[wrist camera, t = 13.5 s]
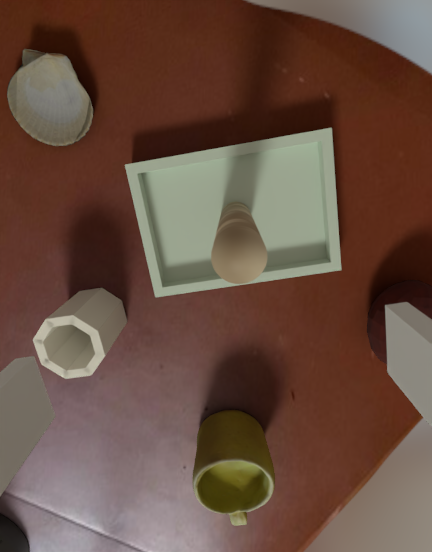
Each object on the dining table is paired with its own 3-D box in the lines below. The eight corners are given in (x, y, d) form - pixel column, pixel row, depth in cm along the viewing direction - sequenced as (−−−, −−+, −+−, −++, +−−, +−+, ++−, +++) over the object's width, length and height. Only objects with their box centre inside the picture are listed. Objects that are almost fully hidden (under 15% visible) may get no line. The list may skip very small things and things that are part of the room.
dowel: (223, 234, 38) (216, 287, 21) (218, 204, 37) (206, 233, 20) (252, 229, 38) (270, 279, 20) (248, 199, 37) (263, 224, 19)
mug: (183, 404, 43) (202, 483, 35) (260, 392, 46) (295, 463, 38) (178, 465, 49) (193, 546, 41) (247, 452, 52) (274, 525, 43)
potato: (437, 278, 39) (474, 298, 34) (405, 357, 42) (434, 387, 37) (374, 266, 39) (400, 283, 33) (346, 345, 42) (366, 374, 36)
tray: (159, 289, 41) (155, 297, 38) (131, 165, 37) (124, 164, 34) (334, 263, 39) (341, 270, 37) (324, 130, 35) (331, 127, 33)
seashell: (32, 134, 38) (95, 153, 37) (9, 135, 36) (76, 155, 34) (29, 46, 34) (100, 63, 33) (3, 40, 32) (79, 58, 30)
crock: (79, 343, 43) (47, 381, 36) (63, 293, 41) (26, 321, 34) (131, 336, 43) (109, 372, 35) (117, 285, 41) (92, 312, 33)
